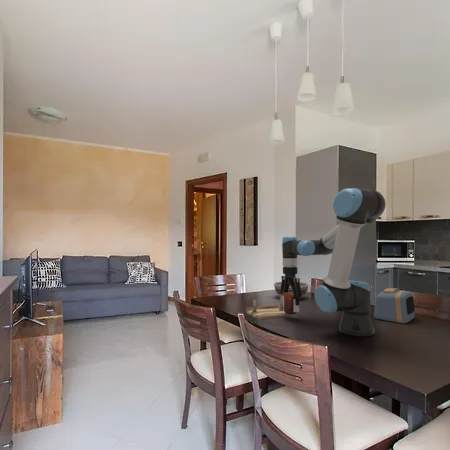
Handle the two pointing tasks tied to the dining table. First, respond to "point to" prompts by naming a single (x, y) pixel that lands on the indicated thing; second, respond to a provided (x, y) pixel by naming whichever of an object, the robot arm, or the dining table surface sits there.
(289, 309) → the mug
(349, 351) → the dining table surface
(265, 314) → the caddy
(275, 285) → the bowl
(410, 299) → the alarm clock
